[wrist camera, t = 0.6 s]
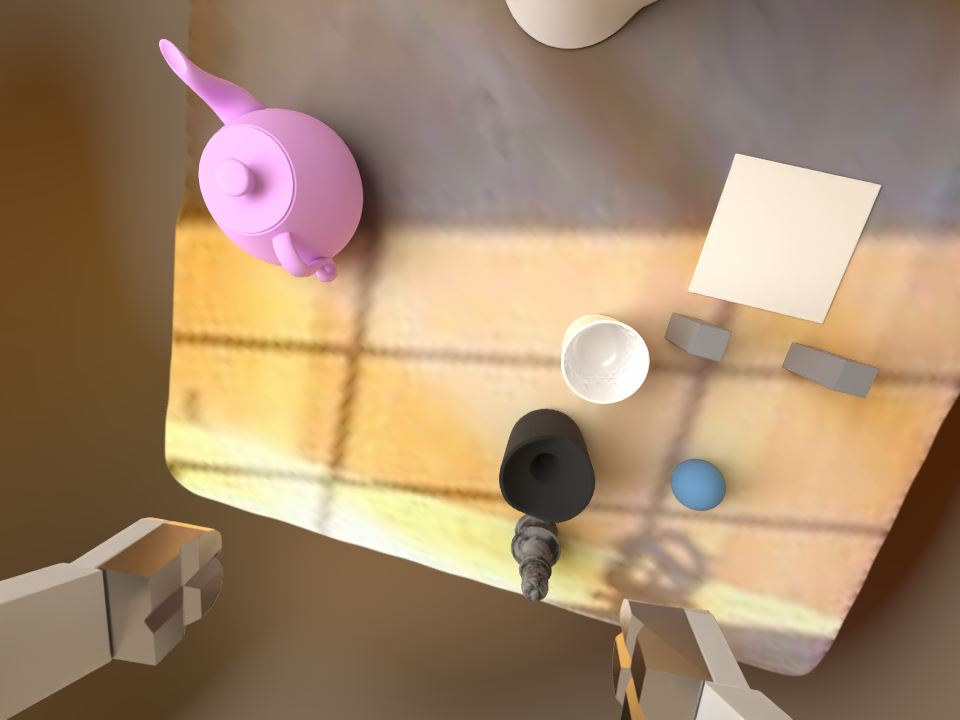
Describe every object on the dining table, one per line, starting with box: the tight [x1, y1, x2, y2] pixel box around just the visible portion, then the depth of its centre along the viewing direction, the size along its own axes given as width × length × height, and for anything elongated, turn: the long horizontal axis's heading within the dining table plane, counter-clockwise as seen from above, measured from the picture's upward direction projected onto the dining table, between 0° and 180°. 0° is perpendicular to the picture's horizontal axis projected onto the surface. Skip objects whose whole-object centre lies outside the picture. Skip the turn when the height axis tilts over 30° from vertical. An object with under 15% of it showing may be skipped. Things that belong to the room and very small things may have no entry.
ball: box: [671, 459, 726, 511], centre depth 51 cm, size 6×6×6 cm
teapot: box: [159, 39, 363, 282], centre depth 46 cm, size 22×16×14 cm
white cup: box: [561, 314, 650, 404], centre depth 47 cm, size 8×8×10 cm
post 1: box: [665, 313, 732, 362], centre depth 46 cm, size 3×3×9 cm
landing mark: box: [688, 154, 881, 324], centre depth 47 cm, size 14×14×1 cm
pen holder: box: [499, 409, 595, 523], centre depth 50 cm, size 9×9×10 cm
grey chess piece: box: [511, 515, 561, 601], centre depth 52 cm, size 6×6×12 cm
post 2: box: [782, 342, 879, 398], centre depth 45 cm, size 3×3×9 cm
